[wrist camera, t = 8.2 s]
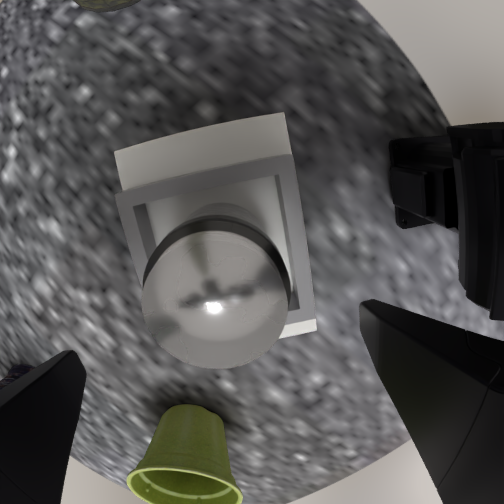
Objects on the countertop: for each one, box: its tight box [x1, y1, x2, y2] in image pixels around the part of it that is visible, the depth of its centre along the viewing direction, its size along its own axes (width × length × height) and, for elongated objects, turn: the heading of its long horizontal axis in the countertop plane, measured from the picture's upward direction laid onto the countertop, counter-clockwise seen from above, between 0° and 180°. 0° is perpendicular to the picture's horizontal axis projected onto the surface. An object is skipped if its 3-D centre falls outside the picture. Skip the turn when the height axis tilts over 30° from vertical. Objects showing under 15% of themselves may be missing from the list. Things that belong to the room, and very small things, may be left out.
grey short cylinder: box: [142, 202, 291, 369], centre depth 14 cm, size 6×6×7 cm
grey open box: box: [114, 112, 317, 338], centre depth 18 cm, size 9×13×6 cm
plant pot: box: [126, 404, 243, 504], centre depth 23 cm, size 9×9×9 cm
